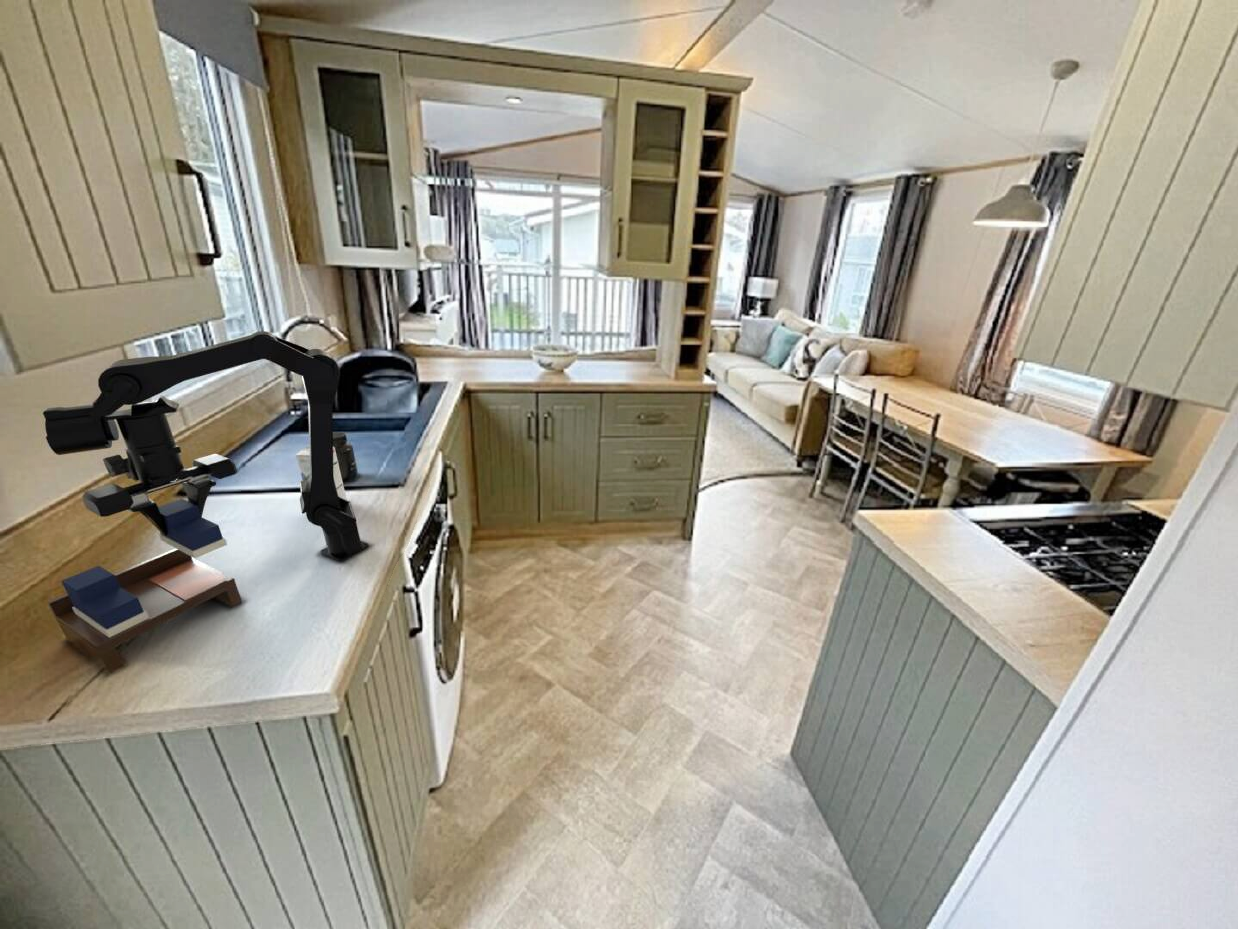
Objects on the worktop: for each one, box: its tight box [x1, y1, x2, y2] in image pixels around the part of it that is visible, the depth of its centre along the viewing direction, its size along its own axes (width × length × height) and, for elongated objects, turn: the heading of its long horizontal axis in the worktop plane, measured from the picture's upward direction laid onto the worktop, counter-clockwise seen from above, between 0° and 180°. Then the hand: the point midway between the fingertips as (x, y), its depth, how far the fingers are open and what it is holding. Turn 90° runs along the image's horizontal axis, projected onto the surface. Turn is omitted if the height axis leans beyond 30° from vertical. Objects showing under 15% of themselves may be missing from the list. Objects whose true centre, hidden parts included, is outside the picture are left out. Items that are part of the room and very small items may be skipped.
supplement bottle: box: [333, 431, 359, 484], centre depth 132 cm, size 7×7×12 cm
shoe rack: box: [46, 548, 243, 674], centre depth 83 cm, size 14×18×7 cm
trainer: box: [158, 498, 228, 559], centre depth 86 cm, size 11×5×6 cm, turn 61°
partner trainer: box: [60, 565, 149, 638], centre depth 77 cm, size 11×5×6 cm, turn 62°
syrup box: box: [295, 446, 348, 501], centre depth 117 cm, size 6×6×14 cm
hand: (182, 528), depth 88 cm, fingers closed on trainer, 4 cm apart
